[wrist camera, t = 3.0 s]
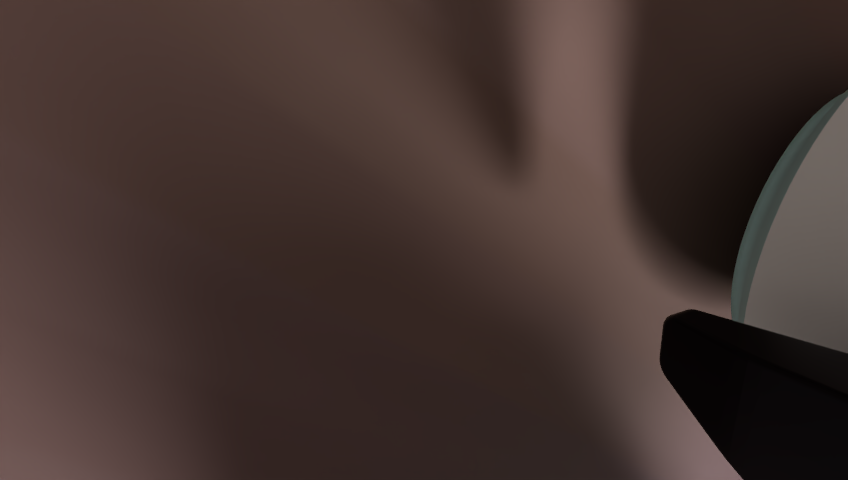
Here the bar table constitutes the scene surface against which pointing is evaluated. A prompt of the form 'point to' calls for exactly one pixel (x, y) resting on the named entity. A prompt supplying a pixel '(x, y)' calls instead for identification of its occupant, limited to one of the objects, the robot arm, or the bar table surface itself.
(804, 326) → the can
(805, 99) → the bar table surface
